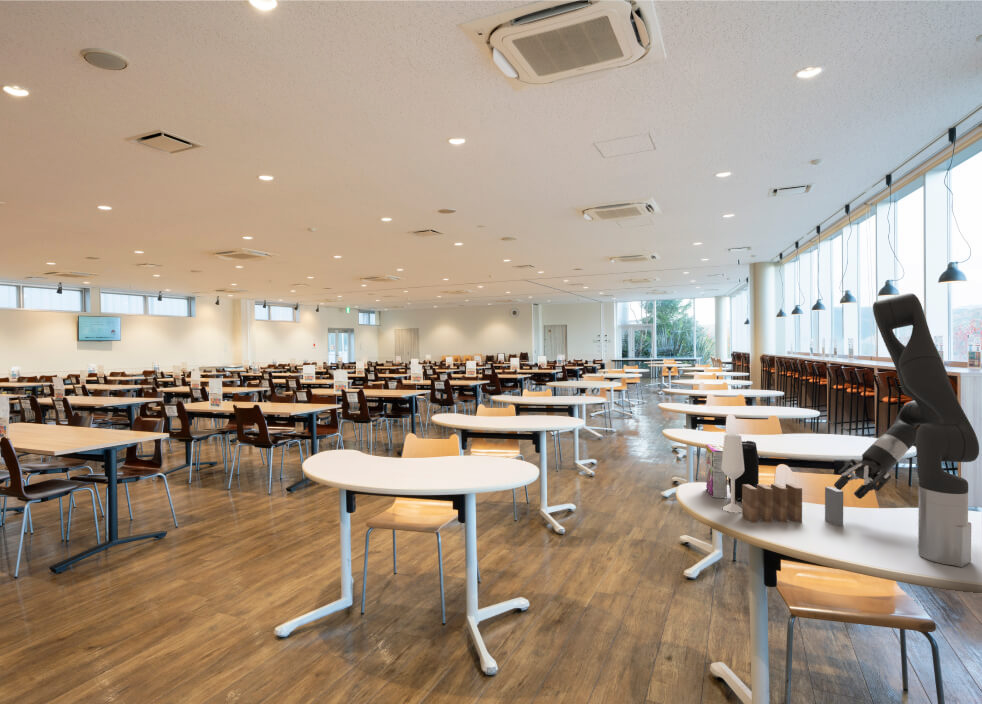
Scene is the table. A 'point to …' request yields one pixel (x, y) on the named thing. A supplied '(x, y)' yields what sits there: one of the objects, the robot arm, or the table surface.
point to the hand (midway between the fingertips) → (846, 492)
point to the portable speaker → (747, 469)
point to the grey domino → (834, 506)
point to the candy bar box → (715, 471)
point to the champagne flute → (732, 465)
